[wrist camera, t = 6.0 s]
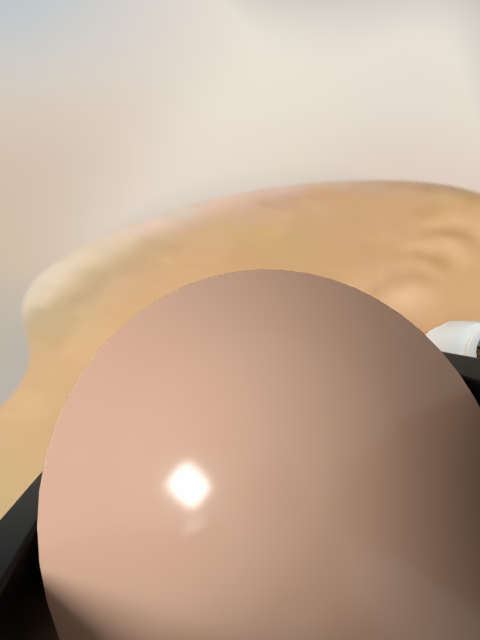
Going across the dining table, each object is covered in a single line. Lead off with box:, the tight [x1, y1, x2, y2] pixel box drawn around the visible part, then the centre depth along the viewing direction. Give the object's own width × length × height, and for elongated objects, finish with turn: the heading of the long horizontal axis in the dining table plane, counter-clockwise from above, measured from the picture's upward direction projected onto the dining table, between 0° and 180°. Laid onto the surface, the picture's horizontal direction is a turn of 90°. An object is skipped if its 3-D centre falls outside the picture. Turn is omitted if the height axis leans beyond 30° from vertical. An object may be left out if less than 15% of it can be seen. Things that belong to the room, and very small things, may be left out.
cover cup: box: [37, 270, 480, 640], centre depth 10 cm, size 7×7×9 cm
